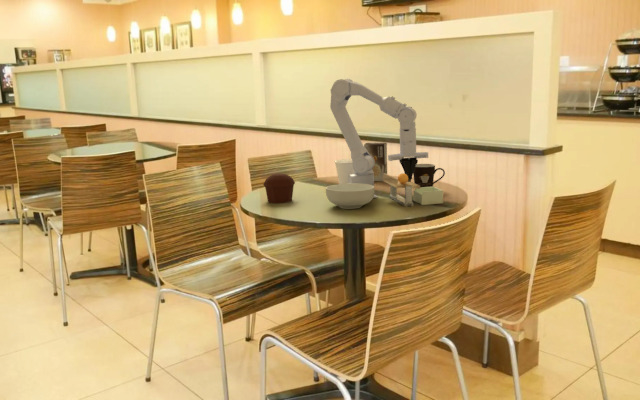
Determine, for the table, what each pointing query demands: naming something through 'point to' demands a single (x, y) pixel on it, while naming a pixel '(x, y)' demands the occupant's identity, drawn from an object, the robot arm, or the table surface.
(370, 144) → the coffee box
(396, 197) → the lever stand
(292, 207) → the table surface
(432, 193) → the bin
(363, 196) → the cereal bowl
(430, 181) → the coffee mug
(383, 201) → the table surface
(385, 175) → the tan flat piece
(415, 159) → the robot arm
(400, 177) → the ball
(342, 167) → the cup
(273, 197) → the muffin
